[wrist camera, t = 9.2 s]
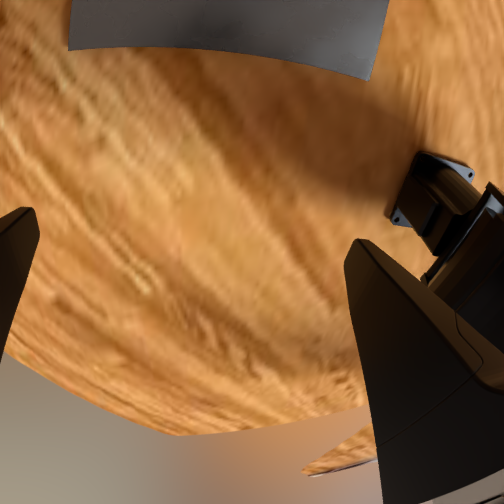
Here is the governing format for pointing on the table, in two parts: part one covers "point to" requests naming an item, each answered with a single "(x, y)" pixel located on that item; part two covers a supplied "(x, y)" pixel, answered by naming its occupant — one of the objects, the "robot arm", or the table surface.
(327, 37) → the stand base
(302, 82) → the table surface
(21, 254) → the robot arm
